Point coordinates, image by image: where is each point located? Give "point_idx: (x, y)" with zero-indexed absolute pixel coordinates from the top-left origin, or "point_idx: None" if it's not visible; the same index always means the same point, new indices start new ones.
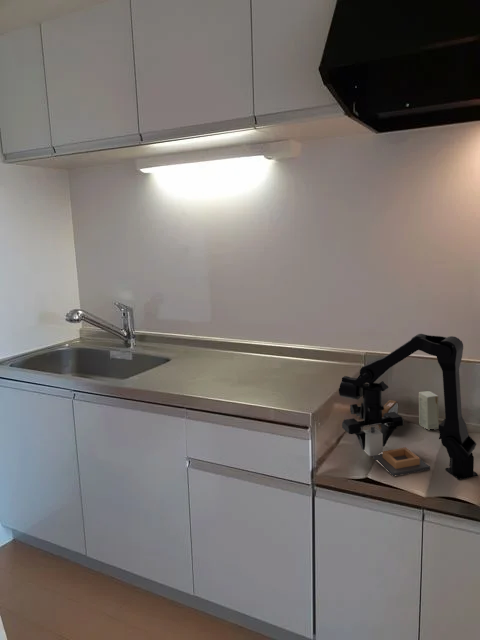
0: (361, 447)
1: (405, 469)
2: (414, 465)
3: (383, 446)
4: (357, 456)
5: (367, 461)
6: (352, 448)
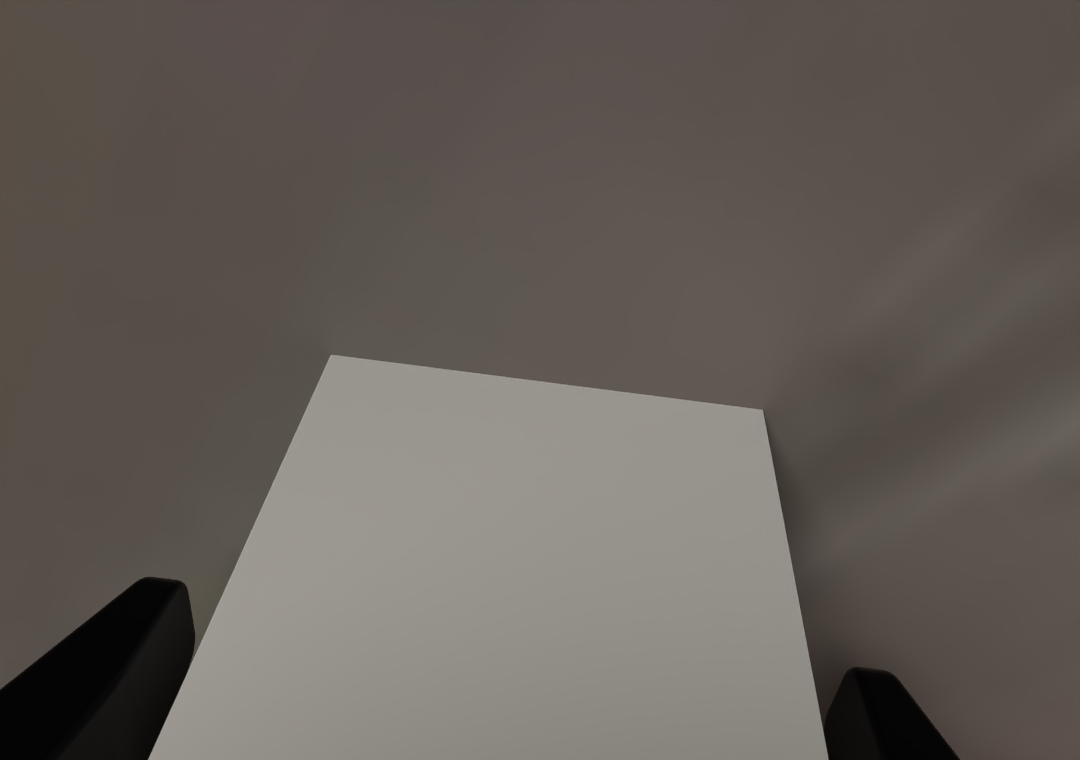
0: (111, 608)
1: None
2: None
3: (828, 732)
4: (33, 525)
5: None
6: (10, 55)
